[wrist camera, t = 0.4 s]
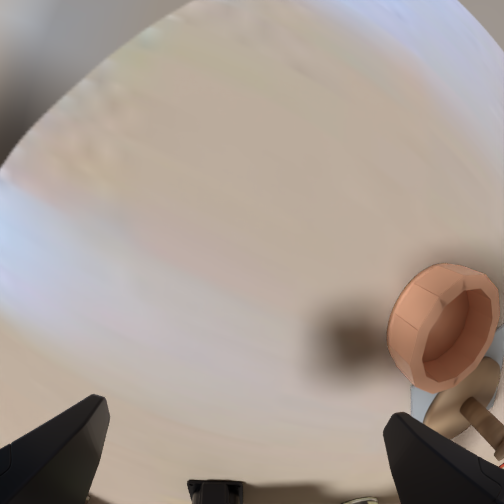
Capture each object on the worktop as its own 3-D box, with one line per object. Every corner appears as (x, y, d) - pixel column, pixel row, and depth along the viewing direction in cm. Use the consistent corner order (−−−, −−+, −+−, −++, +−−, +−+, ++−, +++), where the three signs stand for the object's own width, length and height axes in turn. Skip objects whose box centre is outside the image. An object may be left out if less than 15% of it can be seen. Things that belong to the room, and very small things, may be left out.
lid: (474, 421, 27) (512, 462, 16) (409, 448, 26) (445, 505, 15) (506, 347, 25) (559, 383, 14) (442, 368, 24) (504, 425, 13)
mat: (491, 404, 28) (492, 406, 27) (409, 460, 28) (410, 461, 27) (506, 321, 24) (507, 323, 24) (410, 386, 25) (412, 388, 24)
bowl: (456, 358, 25) (479, 377, 20) (376, 376, 24) (396, 403, 19) (478, 262, 23) (508, 272, 18) (396, 264, 22) (427, 277, 18)
